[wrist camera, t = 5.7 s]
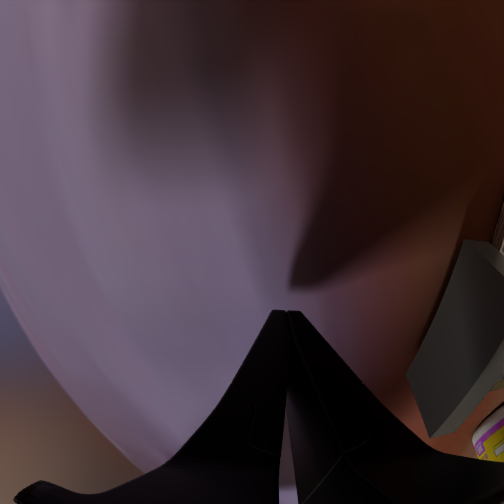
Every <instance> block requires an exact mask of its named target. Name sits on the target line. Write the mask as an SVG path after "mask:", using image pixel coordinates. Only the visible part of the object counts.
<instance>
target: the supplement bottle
mask: <svg viewBox="0 0 504 504" xmlns="http://www.w3.org/2000/svg"><path fill="white" fill-rule="evenodd" d="M473 444H474V447H475V450H476V453H477V456H478V458H479V459H482V460H489V461H497V462H504V405H503V406H502V407H501V408H499V409H498V410H497V411H495V412H494V413H493V414H492V415H490V416H489V417H488V418H487V419H486V420H485V421H484V422H483V423H482V424H481V425H480V426H479V427H478V428H477V430H476V431H475V433H474V435H473Z"/></svg>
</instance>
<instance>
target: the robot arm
mask: <svg viewBox="0 0 504 504" xmlns="http://www.w3.org/2000/svg"><path fill="white" fill-rule="evenodd" d="M285 409H286V411H287V418H288V426H289V433H290V441H291V449H292V456H293V464H294V472H295V480H296V488H297V496H298V504H504V462H497V461H489V460H482V459H475V458H469V457H463V456H457V455H452V454H447V453H443V452H440V451H437V450H435V449H433V448H432V447H430V446H429V445H427V444H426V443H425V442H423V441H422V440H421V439H420V438H419V437H418V436H417V435H415V434H414V433H413V432H412V431H411V430H410V429H409V428H408V427H406V426H405V425H404V424H403V423H402V422H401V421H400V420H399V419H398V418H396V417H395V416H394V415H393V414H392V413H391V412H390V411H389V410H388V409H387V408H386V407H385V406H384V405H383V404H382V403H381V402H380V401H379V400H378V399H377V398H376V397H375V396H374V395H373V394H372V392H371V391H370V390H369V389H368V388H367V387H366V386H365V385H364V384H362V381H361V380H360V379H359V378H358V377H357V375H356V374H355V373H354V372H353V371H352V370H351V369H350V367H349V366H348V365H347V364H346V363H345V362H344V361H343V359H342V358H341V357H340V356H339V355H338V354H337V353H336V351H335V350H334V349H333V348H332V347H331V346H330V344H329V343H328V342H327V341H326V340H325V339H324V338H323V336H322V335H321V334H320V333H319V332H318V331H317V330H316V328H315V327H314V326H313V325H312V324H311V323H310V321H309V320H308V319H307V318H306V317H305V316H304V315H303V313H302V312H300V311H291V310H288V311H287V312H286V311H285V310H272V311H271V313H270V315H269V316H268V318H267V320H266V322H265V324H264V326H263V327H262V329H261V331H260V333H259V335H258V336H257V338H256V340H255V342H254V344H253V345H252V347H251V349H250V351H249V353H248V354H247V356H246V358H245V360H244V361H243V363H242V365H241V367H240V368H239V370H238V372H237V374H236V375H235V377H234V379H233V381H232V383H231V384H230V385H229V387H228V389H227V391H226V392H225V394H224V395H223V397H222V398H221V400H220V401H219V403H218V405H217V406H216V407H215V409H214V410H213V411H212V412H211V414H210V415H209V416H208V418H207V419H206V420H205V421H204V422H203V424H202V425H201V426H200V427H199V428H198V429H197V430H196V432H195V433H194V434H193V435H192V436H191V437H190V438H189V440H188V441H187V442H186V443H185V444H184V445H183V446H182V447H181V449H180V450H179V451H178V452H177V453H176V454H175V455H174V456H173V457H172V458H171V459H169V460H168V461H167V462H166V463H164V464H163V465H161V466H160V467H158V468H156V469H154V470H152V471H150V472H148V473H146V474H144V475H142V476H140V477H138V478H135V479H133V480H131V481H129V482H126V483H124V484H122V485H120V486H117V487H115V488H113V489H110V490H108V491H105V492H102V493H97V494H80V493H76V492H73V491H70V490H68V489H65V488H63V487H60V486H57V485H55V484H53V483H50V482H47V481H43V480H40V481H37V482H35V483H33V484H31V485H29V486H27V487H26V488H24V489H22V491H20V492H19V493H18V494H17V495H16V496H15V497H14V499H13V501H14V502H15V503H17V504H279V467H280V457H281V449H282V439H283V430H284V419H285Z"/></svg>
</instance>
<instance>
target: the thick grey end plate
mask: <svg viewBox="0 0 504 504" xmlns="http://www.w3.org/2000/svg"><path fill="white" fill-rule="evenodd" d="M503 372H504V255H503V254H502V253H501V252H500V251H498V250H497V249H496V248H495V247H494V246H493V245H491V244H490V243H489V242H484V241H476V240H467V239H464V241H463V244H462V247H461V250H460V253H459V256H458V259H457V262H456V265H455V267H454V270H453V273H452V276H451V278H450V281H449V283H448V286H447V289H446V291H445V294H444V296H443V298H442V301H441V303H440V306H439V308H438V310H437V312H436V315H435V317H434V319H433V321H432V324H431V326H430V328H429V330H428V332H427V334H426V336H425V338H424V340H423V342H422V344H421V346H420V348H419V350H418V352H417V354H416V356H415V358H414V360H413V362H412V364H411V365H410V367H409V369H408V371H407V373H406V377H407V379H408V382H409V384H410V387H411V389H412V392H413V394H414V397H415V400H416V402H417V405H418V407H419V410H420V413H421V416H422V418H423V421H424V424H425V427H426V430H427V432H428V435H429V438H434V437H438V436H442V435H445V434H449V433H452V432H455V431H456V430H457V429H458V428H459V427H460V426H461V425H462V423H463V422H464V421H465V420H466V419H467V418H468V417H469V416H470V414H471V413H472V412H473V411H474V410H475V408H476V407H477V406H478V405H479V404H480V402H481V401H482V400H483V399H484V397H485V396H486V395H487V394H488V392H489V391H490V390H491V388H492V387H493V386H494V384H495V383H496V382H497V380H498V379H499V378H500V376H501V375H502V373H503Z"/></svg>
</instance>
